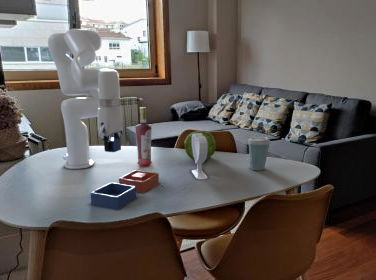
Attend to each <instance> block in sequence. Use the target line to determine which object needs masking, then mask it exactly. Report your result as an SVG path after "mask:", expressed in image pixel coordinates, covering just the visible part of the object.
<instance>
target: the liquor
mask: <svg viewBox="0 0 376 280" xmlns="http://www.w3.org/2000/svg"><path fill="white" fill-rule="evenodd" d="M139 113H140V116H139V118H140V119H139V123H138V124H137V125H136V126H135V128H134V129H135V141H136V149H137V163H136V164H137V165H138V166H139V167H142V168H147V167H150V166H151V165H152V164H153V161H152V126H151V125H150V124H148V122H147V116H146V113H147V107H146V106H139Z"/></svg>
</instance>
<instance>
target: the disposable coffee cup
mask: <svg viewBox="0 0 376 280" xmlns="http://www.w3.org/2000/svg"><path fill="white" fill-rule="evenodd" d="M247 144H248V145H247V146H248V153H249V165H250V169H251V170H254V171H263V170H264V169H265V167H266V162H267V158H268V153H269V148H270V144H271V140H270V137H267V136H254V137H249V139H248V141H247Z"/></svg>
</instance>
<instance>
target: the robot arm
mask: <svg viewBox="0 0 376 280" xmlns="http://www.w3.org/2000/svg"><path fill="white" fill-rule="evenodd" d="M102 46H103V40H102V36H101V35H100V33H99V32H98V31H97V30H95V29H89V28H87V29H86V28H85V29H84V28H71V29H68V30H67V31H66V32H57V33H53V34H50V36H48V39H47V47H48V51H49V55H50V57H51V59H52V61H53V62H54V64H55V67H56V72H57V77H58V82H59V87H60V91H61V93H62V94H63V95H64V96H67V97H68V96H69V97H70V96H71V97H72V96H86V97H72V98H66V99H64V100H63V101H62V102H61V104H60V111H61V115H62V118H63V123H64V132H65V143H66V151H67V153H66V154H64V155H63V156H62V158H61V159H62V160H64V161H66V162H65V163H64V167H65V168H66V169H68V170H81V169H86V168H90V167H92V166H93V165H94V164H95V163H94V160H92V159H91V157H90V141H89V130H88V126H87V125H86V123H85V122H84V121H82V120H84V119H91V118H97V133H98V134H97V136H98V137H99V138H100V139H101V140H102V142H103V145H104V146H103V148H104V152H106V153H113V152H112V142H111V138H117V139H121V140H122V134H123V132H124V130H125V127H124V117H123V110H122V106H121V91H120V90H121V89H120V88H121V87H120V73H119V72H118V71H117V70H115V69H110V68H85V67H87V66H90V65H91V64H93V63H94V62H95V61H96V59H97V55H98V53H97V51H99V50H100V49H101V48H102ZM68 54H72V56H73V58H72V57H71V56H70V55H68ZM112 135H113V137H112Z"/></svg>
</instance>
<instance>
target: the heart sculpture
mask: <svg viewBox="0 0 376 280" xmlns="http://www.w3.org/2000/svg"><path fill="white" fill-rule="evenodd" d="M192 150H193V156H194V159H193V160H194V163H195V164H196V169H192V170H191V173H192V175H193V176H194V177H195V178H196V179H197V180H207V179H208V176H207V175H206V173H205V172H204V171H203V170H202V169H203V168H202V167H203V165H202V164H204V163H205V161H206V160H207V159H206V158H207V151H208V143H207V140H206V137H205V136H203V135H202V134H201V133H199V134H192Z"/></svg>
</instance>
